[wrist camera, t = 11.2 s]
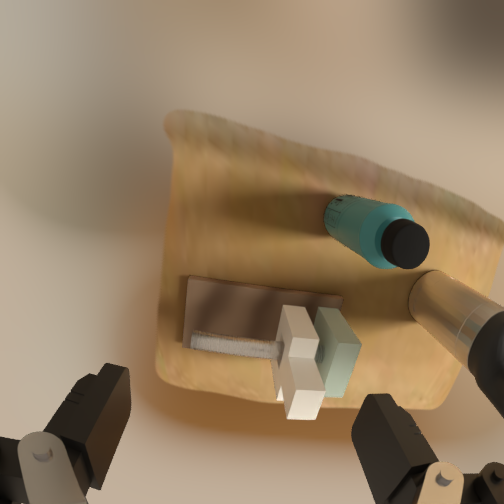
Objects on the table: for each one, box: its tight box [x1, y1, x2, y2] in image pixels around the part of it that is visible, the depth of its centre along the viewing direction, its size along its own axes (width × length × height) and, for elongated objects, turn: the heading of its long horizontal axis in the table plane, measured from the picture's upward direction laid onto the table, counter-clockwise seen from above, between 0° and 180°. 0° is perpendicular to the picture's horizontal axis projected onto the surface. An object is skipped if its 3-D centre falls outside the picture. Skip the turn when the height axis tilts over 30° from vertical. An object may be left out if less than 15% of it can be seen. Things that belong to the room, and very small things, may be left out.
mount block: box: [314, 307, 362, 397], centre depth 40 cm, size 3×8×10 cm, turn 171°
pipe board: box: [182, 275, 344, 349], centre depth 45 cm, size 22×11×2 cm, turn 81°
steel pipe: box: [191, 330, 325, 363], centre depth 38 cm, size 18×3×3 cm, turn 81°
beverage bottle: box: [323, 194, 430, 269], centre depth 33 cm, size 6×7×20 cm
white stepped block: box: [271, 305, 326, 420], centre depth 35 cm, size 3×9×15 cm, turn 171°
